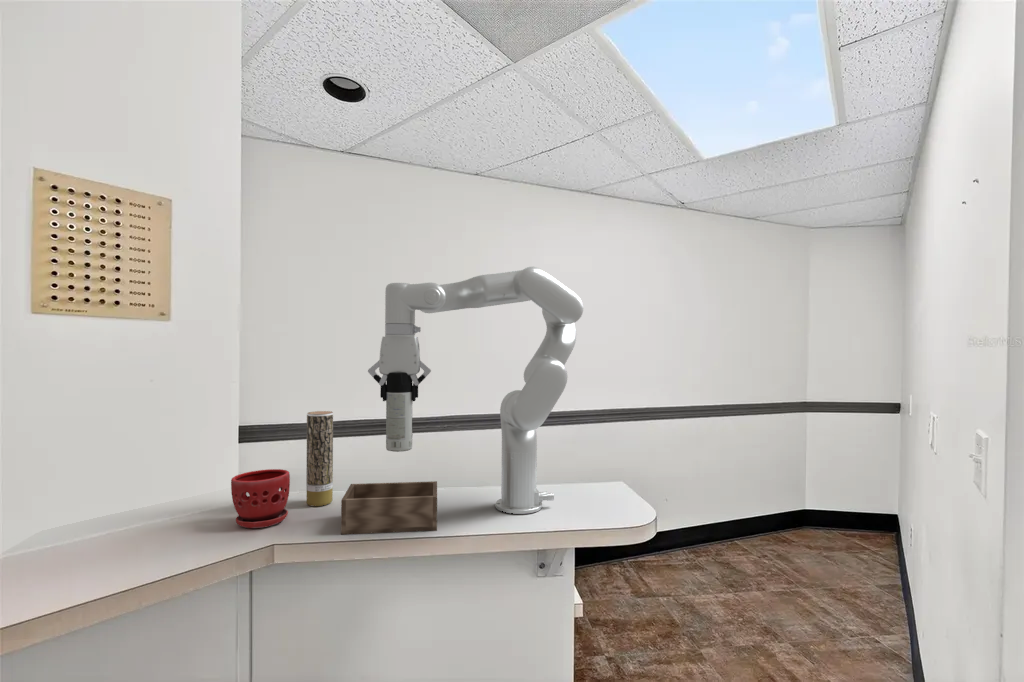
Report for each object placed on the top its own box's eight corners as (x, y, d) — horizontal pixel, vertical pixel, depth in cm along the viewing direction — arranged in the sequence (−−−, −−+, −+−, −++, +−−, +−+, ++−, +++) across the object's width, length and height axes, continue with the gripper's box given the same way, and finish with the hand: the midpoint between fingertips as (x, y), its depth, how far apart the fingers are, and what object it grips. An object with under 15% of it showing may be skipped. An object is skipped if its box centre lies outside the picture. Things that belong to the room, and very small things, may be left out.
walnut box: (436, 511, 141) (437, 481, 141) (436, 530, 127) (437, 496, 127) (350, 514, 137) (350, 483, 137) (341, 534, 124) (341, 500, 124)
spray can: (417, 449, 138) (418, 372, 137) (395, 453, 133) (396, 373, 133) (402, 445, 142) (403, 370, 142) (380, 449, 137) (381, 371, 137)
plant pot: (293, 512, 139) (293, 466, 139) (284, 529, 127) (284, 479, 127) (238, 515, 136) (239, 469, 136) (224, 534, 124) (224, 482, 124)
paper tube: (336, 500, 150) (337, 411, 150) (325, 507, 143) (326, 414, 143) (313, 499, 151) (314, 410, 151) (301, 506, 144) (302, 414, 144)
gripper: (434, 331, 142) (434, 399, 142) (367, 331, 140) (367, 399, 140) (433, 331, 134) (432, 402, 134) (363, 330, 133) (362, 402, 133)
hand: (399, 400), depth 137 cm, fingers closed on spray can, 6 cm apart
